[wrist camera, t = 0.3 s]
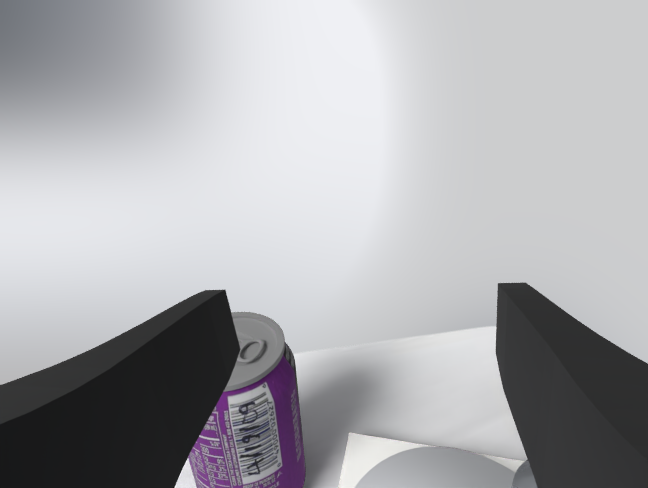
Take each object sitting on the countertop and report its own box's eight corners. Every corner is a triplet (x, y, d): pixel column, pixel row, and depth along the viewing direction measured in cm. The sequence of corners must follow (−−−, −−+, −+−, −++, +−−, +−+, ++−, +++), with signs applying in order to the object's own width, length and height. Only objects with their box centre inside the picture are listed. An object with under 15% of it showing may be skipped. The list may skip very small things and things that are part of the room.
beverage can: (319, 448, 30) (309, 315, 25) (283, 552, 24) (261, 407, 19) (232, 427, 32) (206, 300, 27) (179, 519, 26) (132, 379, 21)
